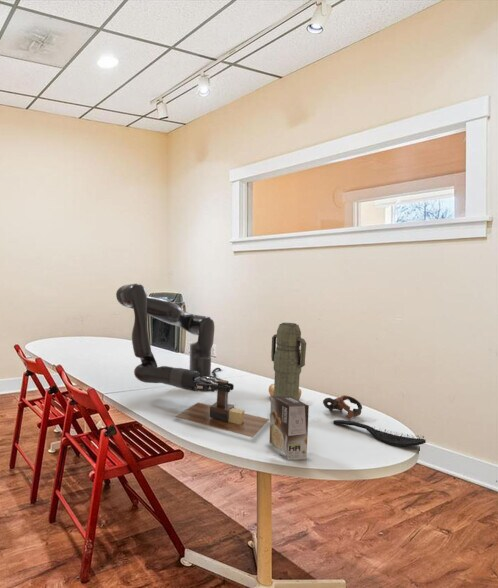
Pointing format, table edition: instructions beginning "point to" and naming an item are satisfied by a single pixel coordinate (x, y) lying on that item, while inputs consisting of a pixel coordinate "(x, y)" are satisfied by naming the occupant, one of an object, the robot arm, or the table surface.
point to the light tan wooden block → (236, 416)
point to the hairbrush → (386, 435)
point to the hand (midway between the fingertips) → (231, 388)
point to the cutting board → (202, 415)
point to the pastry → (271, 390)
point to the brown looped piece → (343, 405)
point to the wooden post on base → (221, 405)
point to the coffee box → (289, 426)
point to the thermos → (288, 359)
